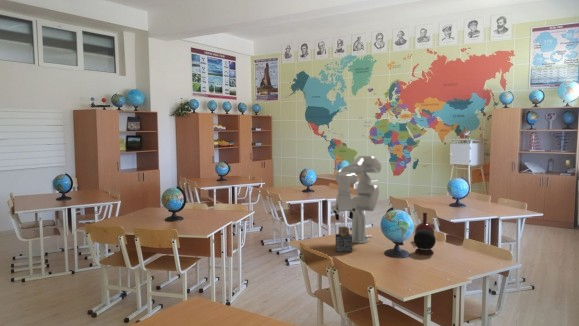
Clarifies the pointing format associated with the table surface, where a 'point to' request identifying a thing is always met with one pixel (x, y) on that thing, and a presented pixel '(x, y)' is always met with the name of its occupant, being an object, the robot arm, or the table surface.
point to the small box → (343, 243)
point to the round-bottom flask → (424, 225)
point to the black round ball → (424, 242)
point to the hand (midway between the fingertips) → (344, 219)
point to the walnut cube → (344, 231)
